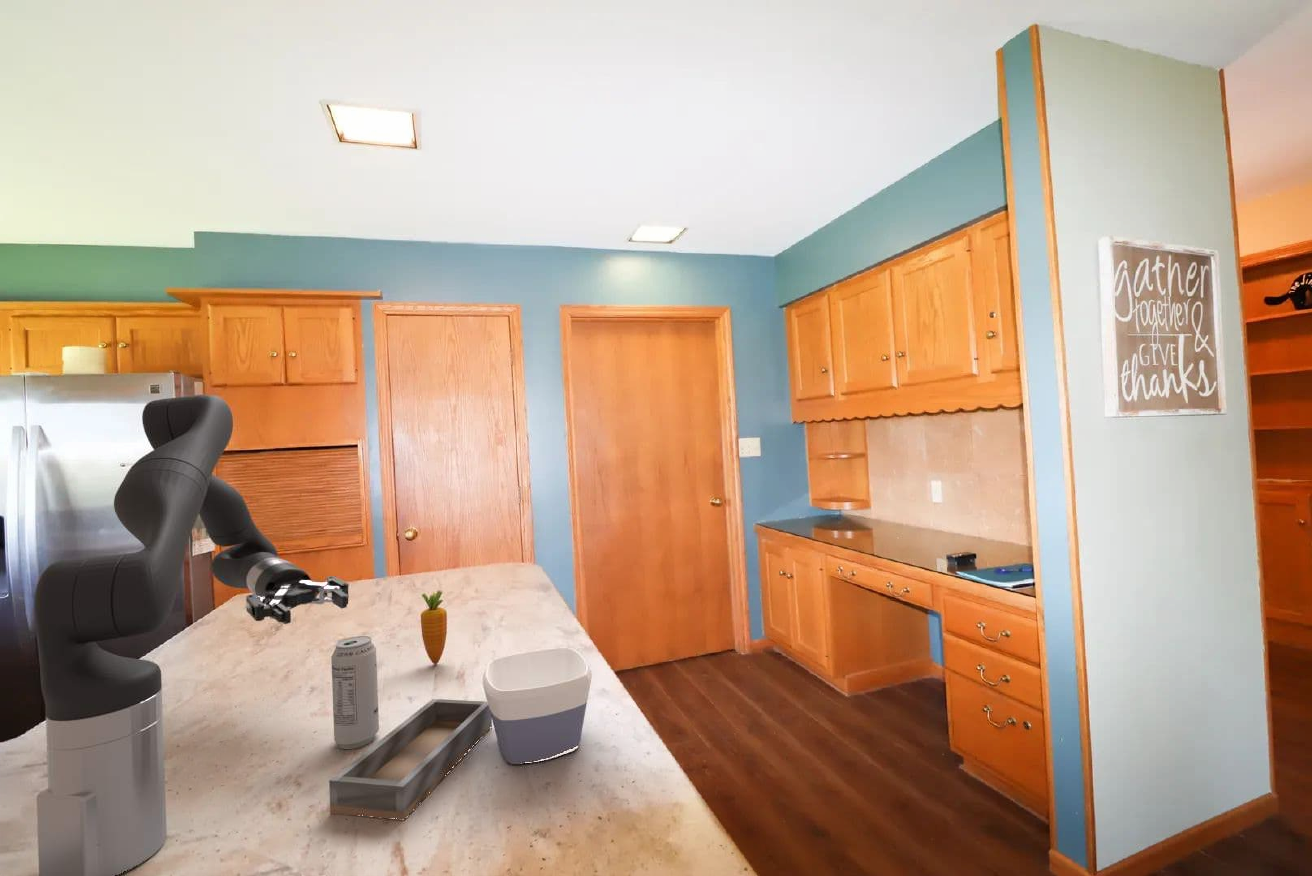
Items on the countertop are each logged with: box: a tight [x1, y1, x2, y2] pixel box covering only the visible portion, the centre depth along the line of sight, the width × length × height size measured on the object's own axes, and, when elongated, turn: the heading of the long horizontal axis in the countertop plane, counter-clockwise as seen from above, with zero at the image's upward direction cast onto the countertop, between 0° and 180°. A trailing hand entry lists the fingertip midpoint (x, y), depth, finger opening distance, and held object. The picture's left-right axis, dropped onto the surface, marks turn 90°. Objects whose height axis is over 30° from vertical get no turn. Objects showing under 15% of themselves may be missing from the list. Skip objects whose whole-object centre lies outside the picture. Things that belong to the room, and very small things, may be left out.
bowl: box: [482, 647, 593, 765], centre depth 84 cm, size 15×15×11 cm
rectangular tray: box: [328, 698, 493, 819], centre depth 79 cm, size 22×10×4 cm, turn 169°
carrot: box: [420, 589, 448, 665], centre depth 116 cm, size 5×5×15 cm
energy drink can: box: [330, 635, 380, 750], centre depth 87 cm, size 6×6×15 cm
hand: (317, 609), depth 93 cm, fingers open, 8 cm apart
